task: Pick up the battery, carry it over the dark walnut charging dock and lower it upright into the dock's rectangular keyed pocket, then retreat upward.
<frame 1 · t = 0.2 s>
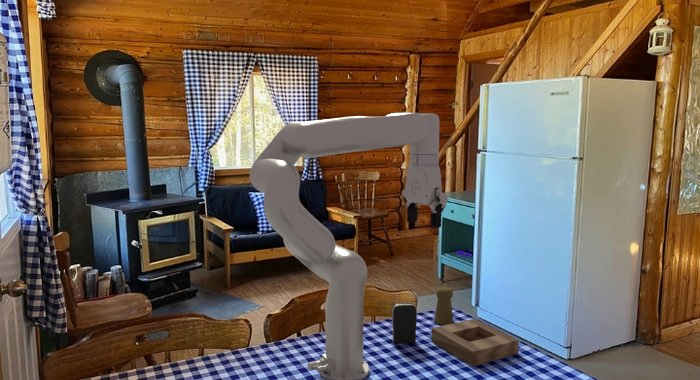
hand: (423, 224, 144), 36 cm above the table, tool pointing down, fingers open, 9 cm apart
cork: (443, 321, 172), on the table
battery: (403, 341, 156), on the table
charging dock: (473, 347, 152), on the table
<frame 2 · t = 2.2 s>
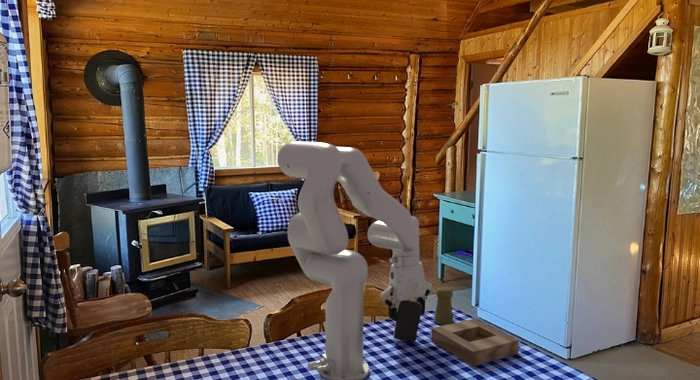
hand: (407, 315, 157), 7 cm above the table, tool pointing down, fingers open, 9 cm apart
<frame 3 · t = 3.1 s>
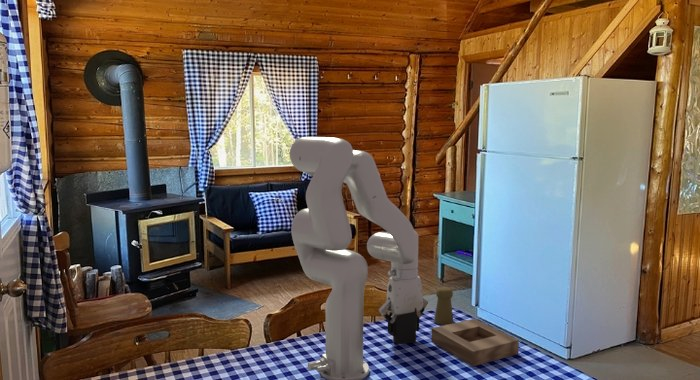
hand: (403, 331, 156), 3 cm above the table, tool pointing down, fingers closed on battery, 7 cm apart
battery: (403, 341, 156), on the table, touching gripper
everything else where it was.
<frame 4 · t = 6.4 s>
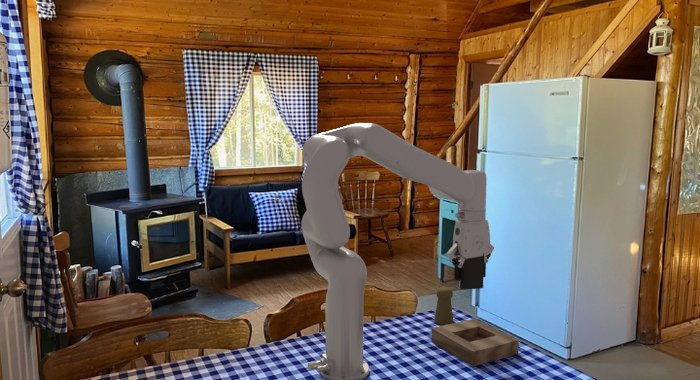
hand: (470, 277, 150), 20 cm above the table, tool pointing down, fingers closed on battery, 7 cm apart
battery: (469, 288, 150), point 17 cm above the table, touching gripper
everything else where it was.
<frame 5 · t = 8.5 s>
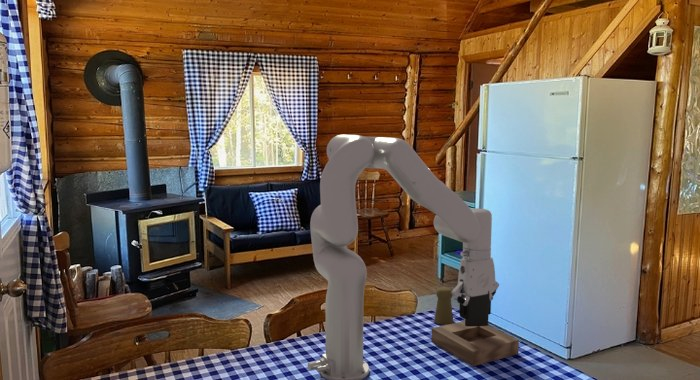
hand: (475, 315, 151), 10 cm above the table, tool pointing down, fingers closed on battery, 7 cm apart
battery: (475, 325, 151), point 6 cm above the table, touching gripper
everything else where it was.
when the fingers open (5 cm above the table, at t = 10.0 s): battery stays where it is, resting on charging dock.
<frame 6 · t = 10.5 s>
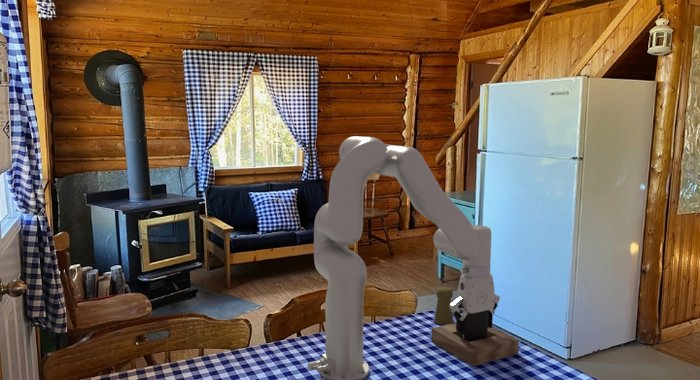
hand: (474, 329, 151), 5 cm above the table, tool pointing down, fingers open, 9 cm apart
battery: (473, 344, 152), point 1 cm above the table, touching charging dock
everything else where it was.
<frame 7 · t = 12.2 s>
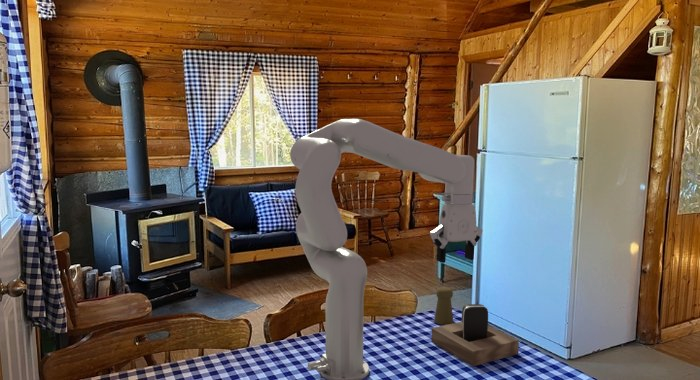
hand: (455, 260, 151), 25 cm above the table, tool pointing down, fingers open, 9 cm apart
nothing on the table moved.
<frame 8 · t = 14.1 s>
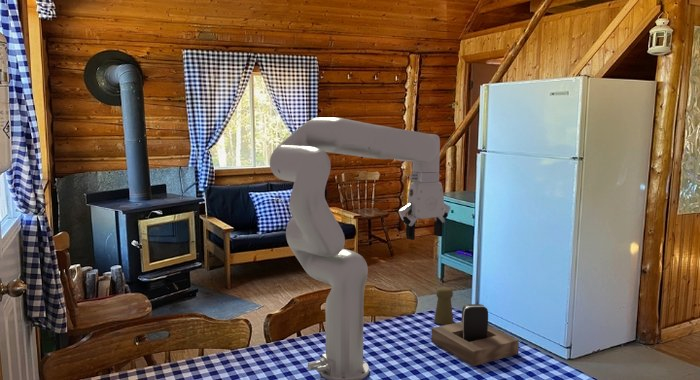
hand: (424, 237, 154), 30 cm above the table, tool pointing down, fingers open, 9 cm apart
nothing on the table moved.
at the end: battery 0.1 cm off-centre on the charging dock, point 0.8 cm above the charging dock's base; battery tilted 0°; the gripper is holding nothing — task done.
